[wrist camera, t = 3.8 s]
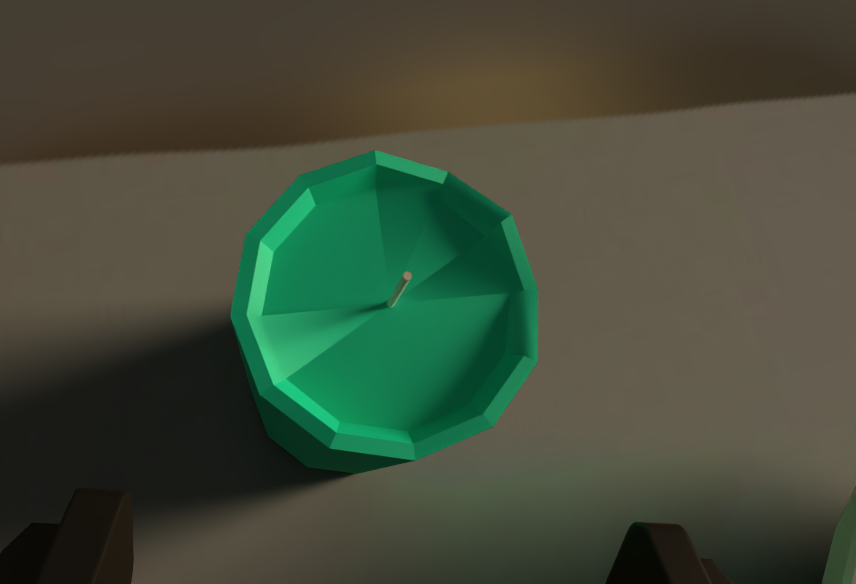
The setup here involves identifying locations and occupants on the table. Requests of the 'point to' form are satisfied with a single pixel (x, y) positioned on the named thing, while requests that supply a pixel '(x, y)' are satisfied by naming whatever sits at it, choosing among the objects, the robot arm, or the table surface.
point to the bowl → (843, 548)
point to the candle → (383, 313)
